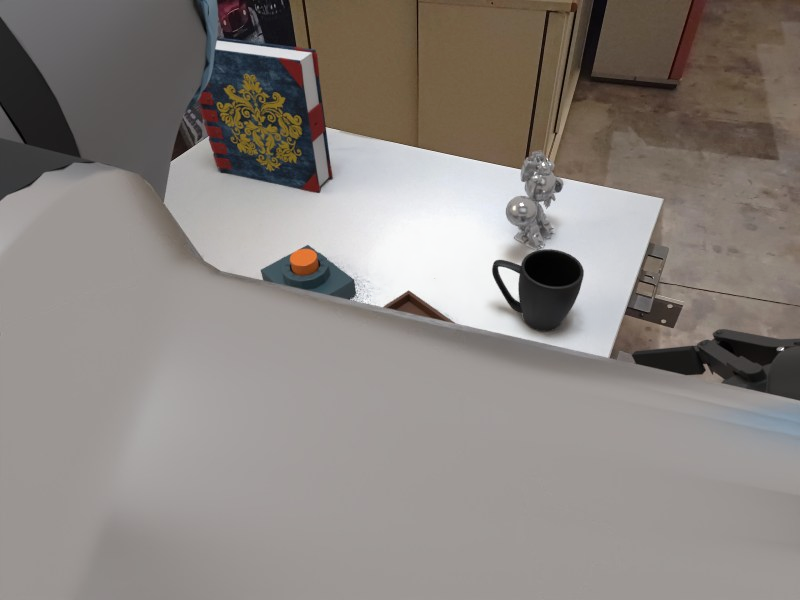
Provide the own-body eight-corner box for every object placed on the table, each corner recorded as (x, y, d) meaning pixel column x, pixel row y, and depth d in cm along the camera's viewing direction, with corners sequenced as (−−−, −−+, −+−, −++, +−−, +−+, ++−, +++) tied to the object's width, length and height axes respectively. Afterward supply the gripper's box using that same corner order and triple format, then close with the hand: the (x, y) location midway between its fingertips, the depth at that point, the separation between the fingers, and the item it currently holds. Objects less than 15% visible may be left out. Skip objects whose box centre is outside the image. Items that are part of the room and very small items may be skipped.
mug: (495, 287, 85) (501, 238, 79) (575, 306, 82) (588, 256, 75) (481, 323, 80) (486, 273, 73) (565, 344, 76) (579, 294, 70)
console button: (324, 267, 83) (322, 257, 81) (302, 280, 81) (300, 269, 79) (308, 255, 85) (306, 245, 83) (286, 267, 83) (284, 256, 82)
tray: (393, 391, 71) (393, 381, 70) (340, 344, 77) (339, 335, 76) (463, 338, 78) (464, 329, 76) (408, 299, 84) (408, 289, 82)
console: (356, 295, 85) (353, 270, 81) (308, 324, 80) (303, 299, 77) (310, 259, 91) (306, 235, 88) (264, 285, 87) (257, 260, 84)
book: (210, 171, 113) (172, 45, 96) (230, 155, 118) (197, 32, 101) (317, 194, 106) (297, 62, 88) (334, 176, 110) (318, 48, 93)
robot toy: (525, 271, 88) (538, 190, 77) (490, 257, 90) (499, 177, 80) (563, 225, 96) (580, 146, 86) (531, 214, 99) (543, 136, 89)
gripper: (810, 591, 30) (541, 518, 48) (938, 349, 41) (682, 365, 60) (749, 475, 29) (500, 446, 47) (897, 262, 41) (651, 306, 59)
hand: (601, 401), depth 54 cm, fingers open, 13 cm apart
